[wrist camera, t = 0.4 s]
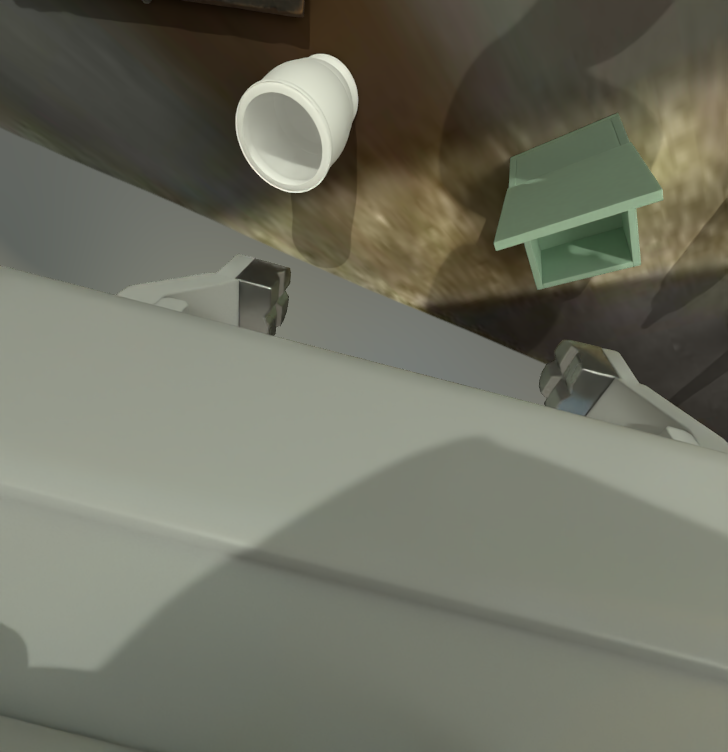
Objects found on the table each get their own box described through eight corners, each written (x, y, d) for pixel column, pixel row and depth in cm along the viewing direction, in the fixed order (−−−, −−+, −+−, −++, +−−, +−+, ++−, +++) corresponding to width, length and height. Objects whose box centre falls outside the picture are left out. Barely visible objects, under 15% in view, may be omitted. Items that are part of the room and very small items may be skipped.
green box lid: (663, 200, 28) (662, 188, 28) (495, 251, 34) (493, 242, 34) (631, 150, 39) (630, 141, 39) (509, 195, 45) (507, 188, 45)
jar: (379, 124, 51) (347, 176, 42) (313, 152, 56) (271, 204, 47) (343, 23, 44) (296, 59, 35) (271, 65, 49) (213, 106, 40)
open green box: (629, 226, 53) (641, 265, 48) (536, 253, 59) (537, 290, 54) (618, 112, 44) (630, 143, 39) (510, 157, 50) (508, 190, 45)
